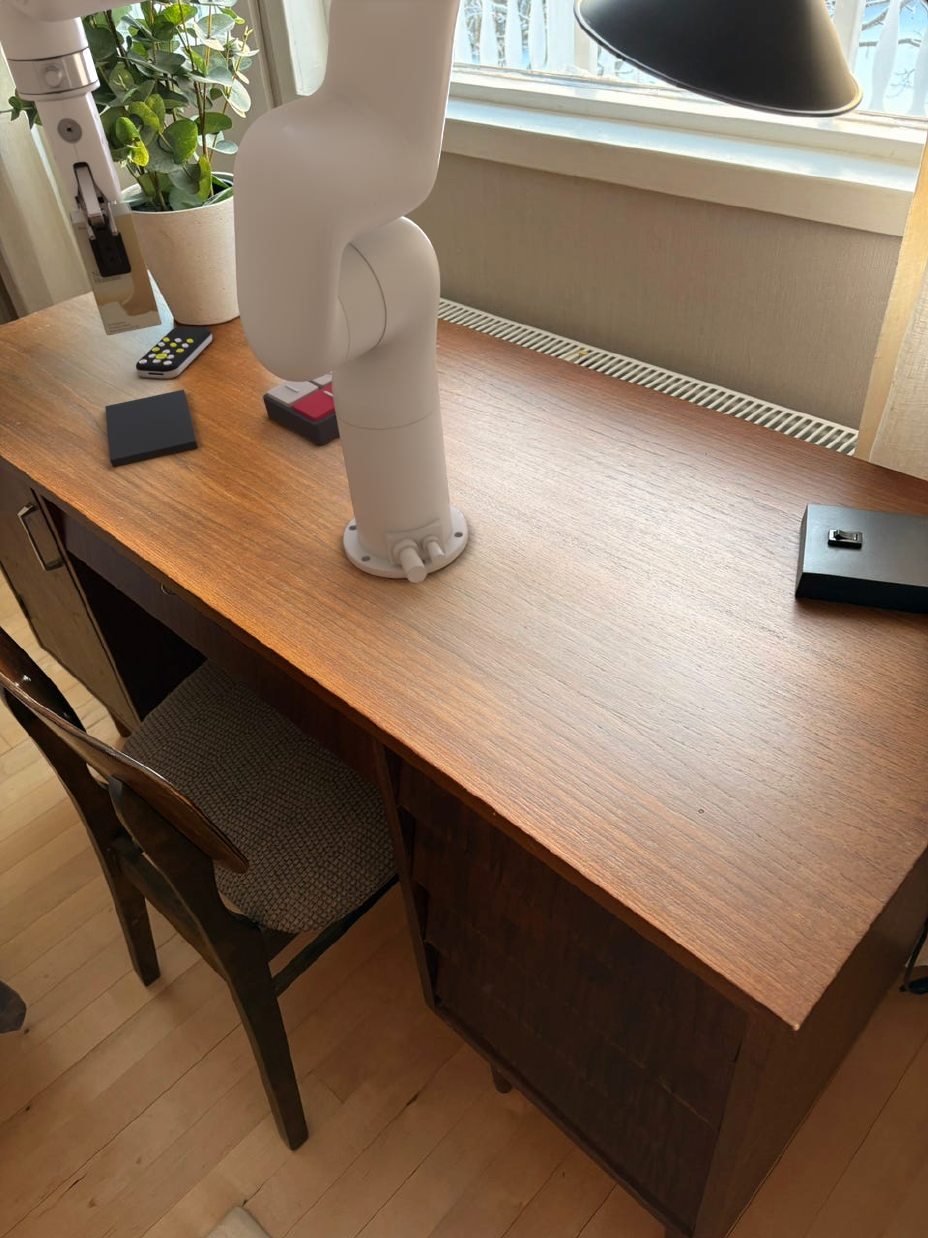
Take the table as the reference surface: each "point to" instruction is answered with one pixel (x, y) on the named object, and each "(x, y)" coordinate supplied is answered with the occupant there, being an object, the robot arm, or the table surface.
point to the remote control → (174, 352)
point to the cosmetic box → (119, 277)
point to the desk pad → (149, 428)
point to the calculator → (305, 408)
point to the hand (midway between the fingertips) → (115, 263)
